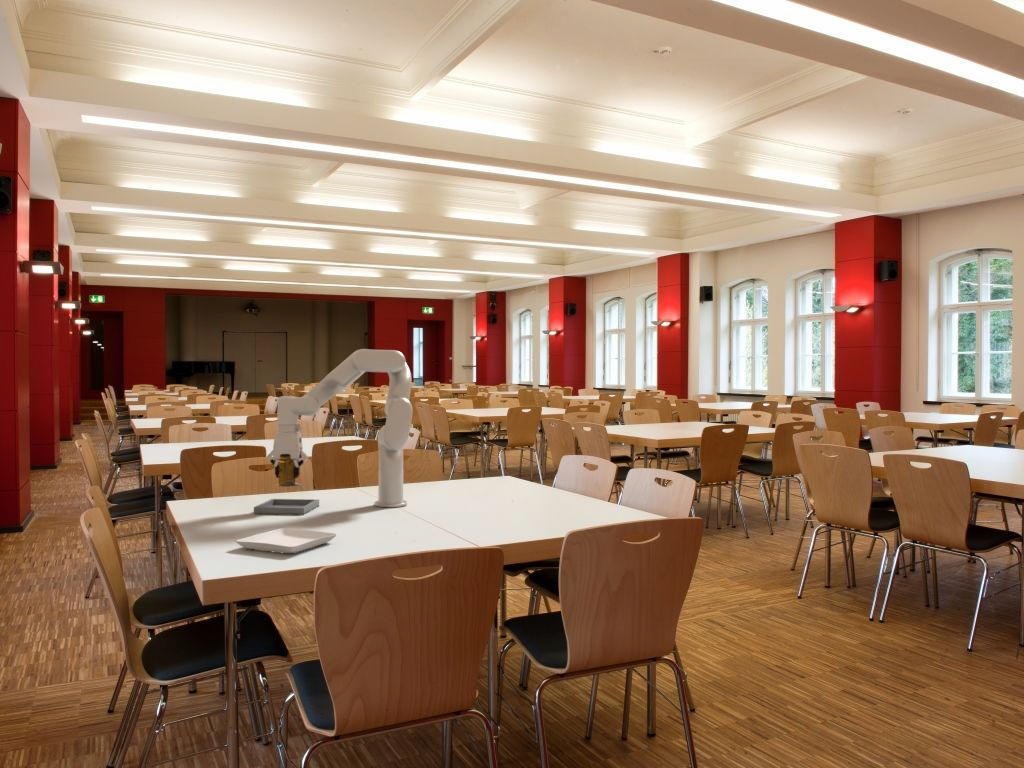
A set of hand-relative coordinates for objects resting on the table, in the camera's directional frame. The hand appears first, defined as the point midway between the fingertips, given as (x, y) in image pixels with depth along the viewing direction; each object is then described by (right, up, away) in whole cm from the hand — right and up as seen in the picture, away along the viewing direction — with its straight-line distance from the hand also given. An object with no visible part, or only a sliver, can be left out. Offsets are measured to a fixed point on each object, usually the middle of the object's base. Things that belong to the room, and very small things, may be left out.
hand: (287, 477), depth 287 cm
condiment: (+1, -3, 0) cm, 3 cm away
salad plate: (+17, -14, -59) cm, 63 cm away
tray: (0, -12, 0) cm, 12 cm away
